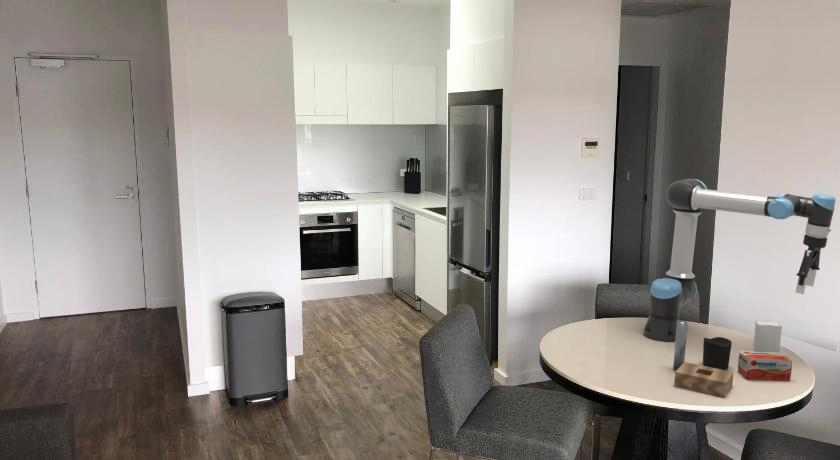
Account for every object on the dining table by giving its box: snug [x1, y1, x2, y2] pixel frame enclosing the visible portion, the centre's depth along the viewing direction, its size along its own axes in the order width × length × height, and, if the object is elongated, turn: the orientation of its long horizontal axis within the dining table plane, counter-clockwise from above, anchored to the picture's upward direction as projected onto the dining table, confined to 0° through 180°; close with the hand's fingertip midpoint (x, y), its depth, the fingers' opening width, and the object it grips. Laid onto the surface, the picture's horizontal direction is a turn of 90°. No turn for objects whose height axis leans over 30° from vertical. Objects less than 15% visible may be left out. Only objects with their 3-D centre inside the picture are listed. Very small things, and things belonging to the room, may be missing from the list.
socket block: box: [673, 361, 734, 398], centre depth 232 cm, size 16×12×5 cm
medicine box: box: [737, 351, 793, 382], centre depth 241 cm, size 15×8×8 cm, turn 88°
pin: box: [672, 319, 689, 372], centre depth 246 cm, size 4×4×18 cm
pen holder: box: [702, 336, 733, 371], centre depth 250 cm, size 9×9×10 cm
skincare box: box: [752, 319, 783, 353], centre depth 255 cm, size 8×7×16 cm
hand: (804, 289), depth 260 cm, fingers open, 13 cm apart
